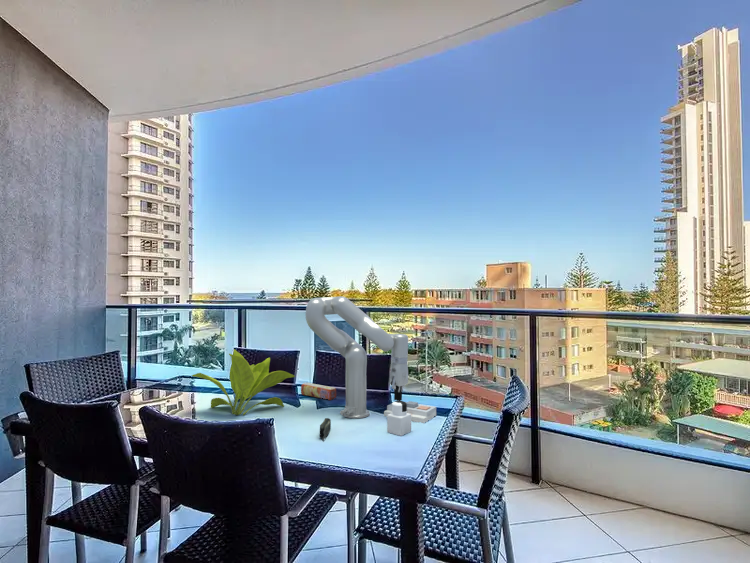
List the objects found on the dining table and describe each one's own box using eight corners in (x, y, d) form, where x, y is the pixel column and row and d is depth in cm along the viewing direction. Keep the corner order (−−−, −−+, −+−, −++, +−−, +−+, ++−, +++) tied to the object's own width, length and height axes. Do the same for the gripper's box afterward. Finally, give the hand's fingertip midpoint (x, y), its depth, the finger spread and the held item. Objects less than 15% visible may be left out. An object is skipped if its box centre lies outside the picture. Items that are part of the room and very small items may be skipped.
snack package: (337, 398, 215) (337, 385, 216) (329, 401, 210) (329, 388, 210) (308, 393, 227) (308, 381, 228) (299, 395, 222) (299, 383, 222)
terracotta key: (425, 414, 180) (425, 409, 180) (417, 412, 182) (416, 408, 182) (430, 411, 183) (430, 407, 183) (421, 410, 186) (421, 405, 186)
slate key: (413, 409, 183) (413, 404, 183) (405, 407, 185) (405, 403, 185) (418, 406, 187) (418, 402, 187) (409, 405, 189) (409, 401, 189)
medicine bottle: (397, 427, 168) (397, 398, 168) (411, 431, 164) (411, 401, 164) (386, 432, 163) (386, 402, 163) (401, 436, 158) (401, 405, 158)
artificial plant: (298, 427, 188) (311, 367, 206) (232, 391, 159) (254, 325, 177) (232, 431, 206) (249, 376, 224) (162, 399, 177) (189, 339, 195)
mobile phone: (324, 417, 168) (317, 428, 153) (331, 417, 168) (325, 428, 153) (324, 429, 168) (317, 441, 153) (331, 429, 167) (325, 441, 153)
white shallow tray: (424, 423, 174) (424, 413, 174) (383, 415, 184) (383, 407, 184) (436, 415, 185) (436, 406, 185) (397, 409, 195) (397, 400, 195)
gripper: (398, 363, 181) (397, 404, 181) (413, 359, 194) (412, 398, 193) (384, 361, 185) (382, 402, 185) (399, 357, 198) (398, 395, 197)
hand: (397, 400), depth 189 cm, fingers closed
